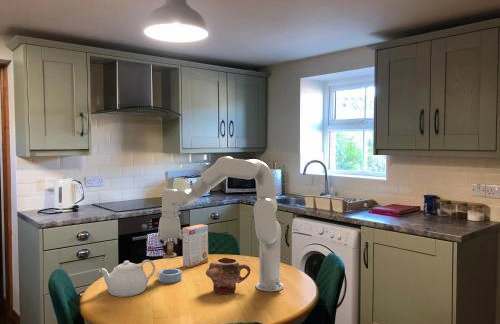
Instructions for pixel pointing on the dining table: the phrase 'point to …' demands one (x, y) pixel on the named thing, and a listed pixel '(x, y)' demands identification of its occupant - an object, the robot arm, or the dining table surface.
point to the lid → (169, 251)
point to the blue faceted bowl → (170, 276)
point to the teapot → (127, 279)
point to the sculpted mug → (226, 274)
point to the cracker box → (195, 245)
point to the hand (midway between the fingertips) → (169, 252)
